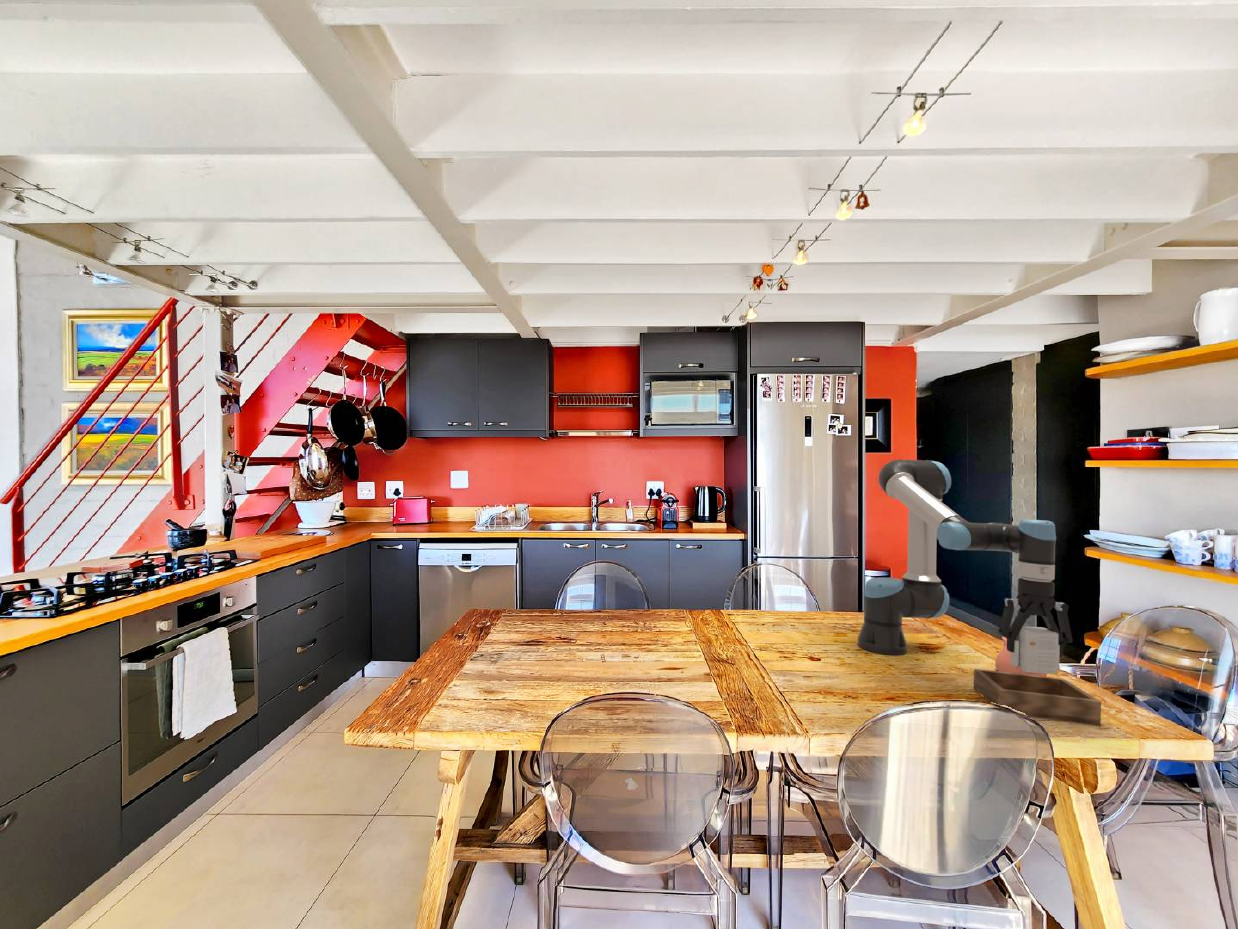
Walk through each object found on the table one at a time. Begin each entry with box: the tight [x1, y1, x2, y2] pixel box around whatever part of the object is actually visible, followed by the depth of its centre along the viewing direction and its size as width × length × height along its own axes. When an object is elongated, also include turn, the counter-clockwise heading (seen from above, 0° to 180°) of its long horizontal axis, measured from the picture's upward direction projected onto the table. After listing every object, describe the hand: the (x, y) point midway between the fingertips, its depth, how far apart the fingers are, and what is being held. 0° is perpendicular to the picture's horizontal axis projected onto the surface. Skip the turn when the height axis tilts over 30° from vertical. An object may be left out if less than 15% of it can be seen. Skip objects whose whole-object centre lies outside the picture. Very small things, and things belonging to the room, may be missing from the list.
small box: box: [1012, 625, 1059, 675], centre depth 138 cm, size 8×6×10 cm
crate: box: [973, 668, 1102, 726], centre depth 138 cm, size 21×15×6 cm
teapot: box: [994, 636, 1048, 677], centre depth 160 cm, size 12×18×10 cm
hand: (1034, 666), depth 138 cm, fingers closed on small box, 8 cm apart
